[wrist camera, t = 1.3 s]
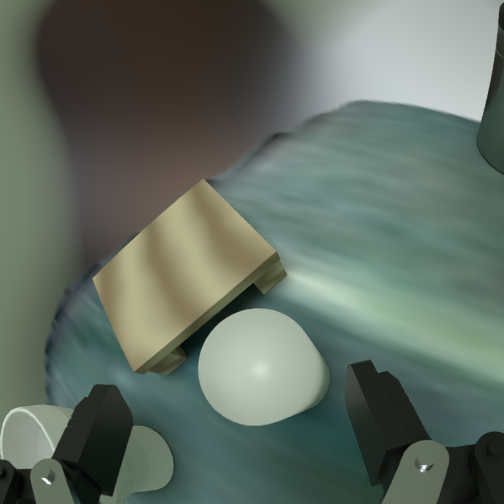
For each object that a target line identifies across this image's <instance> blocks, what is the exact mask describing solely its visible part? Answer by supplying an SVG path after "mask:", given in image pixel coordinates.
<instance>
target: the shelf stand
mask: <svg viewBox="0 0 504 504" xmlns="http://www.w3.org/2000/svg"><path fill="white" fill-rule="evenodd" d="M279 260H280V257H279V255H278V253H277V252H276V250H275V249H274V248H273V247H272V246H271V245H270V244H269V243H268V242H267V241H266V240H265V239H264V238H263V237H262V236H261V235H260V234H259V233H258V232H257V231H256V230H255V229H254V228H253V227H252V226H251V225H250V224H249V223H248V222H247V221H246V220H245V219H244V218H242V217H241V216H240V215H239V214H238V213H237V212H236V211H235V210H234V209H233V208H232V207H231V206H230V205H229V204H228V203H227V202H226V201H225V200H224V199H223V198H222V197H221V196H220V195H219V194H218V193H217V192H216V191H215V190H214V189H213V188H212V187H211V186H210V185H209V184H208V183H207V182H206V181H205V180H204V179H202V180H201V181H200V182H199V183H197V184H196V185H195V186H194V187H192V188H191V189H190V190H189V191H188V192H186V193H185V194H184V195H183V196H182V197H181V198H179V199H178V200H177V201H176V202H175V203H173V204H172V205H171V206H170V207H169V208H168V209H167V210H165V211H164V212H163V213H162V214H161V215H160V216H159V217H157V218H156V219H155V220H154V221H153V222H152V223H151V224H150V225H148V226H147V227H146V228H145V229H144V230H143V231H142V232H141V233H140V234H139V235H137V236H136V237H135V238H134V239H133V240H132V241H131V242H130V243H129V244H128V245H127V246H126V247H125V248H123V249H122V250H121V251H120V252H119V253H118V254H117V255H116V256H115V257H114V258H113V259H112V260H111V261H110V262H109V263H108V264H107V265H106V266H105V267H104V268H103V269H102V270H101V271H100V272H99V273H98V274H97V275H96V276H95V277H94V278H93V281H94V283H95V286H96V289H97V291H98V294H99V296H100V299H101V301H102V304H103V306H104V309H105V311H106V314H107V316H108V318H109V321H110V323H111V325H112V328H113V330H114V332H115V334H116V336H117V339H118V341H119V343H120V345H121V347H122V349H123V351H124V353H125V356H126V358H127V360H128V362H129V364H130V366H131V368H132V370H133V372H136V373H141V374H145V373H146V372H147V371H150V372H155V373H160V374H165V375H168V374H169V373H171V372H172V371H173V370H174V369H176V368H177V367H178V366H179V365H181V364H182V363H183V362H184V361H186V360H187V359H188V358H187V356H186V355H185V353H184V351H183V350H182V348H181V347H180V344H181V343H182V342H183V341H185V340H186V339H187V338H188V337H189V336H191V335H192V334H193V333H194V332H195V331H197V330H198V329H199V328H200V327H201V326H203V325H204V324H205V323H206V322H207V321H209V320H210V319H211V318H212V317H213V316H214V315H216V314H217V313H218V312H219V311H220V310H222V309H223V308H224V307H225V306H226V305H227V304H229V303H230V302H231V301H232V300H233V299H234V298H236V297H237V296H238V295H239V294H240V293H242V292H243V291H244V290H245V289H246V288H247V287H249V286H250V285H251V284H252V283H254V284H255V285H256V287H257V288H258V289H259V290H260V291H261V292H262V293H263V295H265V294H266V293H267V292H268V291H269V290H270V289H271V288H273V287H274V286H275V285H276V284H277V283H278V282H279V281H281V280H282V279H283V278H284V277H285V276H286V275H287V274H286V272H285V270H284V268H283V266H282V264H281V262H280V261H279Z"/></svg>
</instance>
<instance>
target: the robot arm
mask: <svg viewBox="0 0 504 504" xmlns="http://www.w3.org/2000/svg"><path fill="white" fill-rule="evenodd" d="M477 144H478V147H479V150H480V151H481V153H482V155H483V156H484V157H485V159H486V160H487V161H488V162H489V163H490V164H491V165H492V166H494V167H495V168H496V169H497V170H499V171H501V172H502V173H504V3H502V4H501V6H500V10H499V21H498V33H497V43H496V51H495V57H494V64H493V70H492V75H491V81H490V86H489V91H488V95H487V100H486V104H485V108H484V113H483V116H482V120H481V124H480V127H479V131H478V134H477ZM345 403H346V408H347V412H348V415H349V418H350V421H351V424H352V427H353V429H354V432H355V435H356V438H357V441H358V445H359V448H360V451H361V454H362V457H363V460H364V463H365V466H366V469H367V472H368V475H369V479H370V482H371V485H372V486H374V485H377V484H381V483H382V486H383V489H384V494H383V496H382V498H381V500H380V502H379V504H504V433H501V432H496V431H495V432H489V433H486V434H484V435H483V436H482V437H480V439H479V440H478V441H477V443H476V444H473V445H467V446H460V447H444V446H443V445H442V444H440V443H438V442H436V441H433V440H432V439H431V438H430V437H429V436H428V434H427V432H426V430H425V428H424V426H423V424H422V423H421V421H420V419H419V417H418V415H417V413H416V411H415V409H414V408H413V406H412V404H411V402H409V398H408V397H407V395H406V393H404V389H403V388H402V386H401V384H400V382H399V380H398V379H397V378H395V377H394V376H393V375H391V374H390V373H389V372H387V371H385V372H381V373H377V371H376V369H375V367H374V365H373V363H372V361H371V360H366V361H362V362H358V363H353V364H348V366H347V376H346V388H345ZM132 428H133V416H132V413H131V411H130V409H129V407H128V406H127V404H126V402H125V400H124V399H123V397H122V395H121V393H120V391H119V389H118V388H117V387H116V386H115V385H102V384H96V385H94V386H93V388H92V390H91V392H90V394H89V396H88V397H85V398H84V399H83V400H82V401H81V402H80V403H79V404H78V405H77V406H76V407H75V409H74V411H73V413H72V415H71V419H69V422H68V424H67V427H66V428H65V430H64V432H63V434H62V436H61V438H60V440H59V443H58V445H57V447H56V449H55V451H54V453H53V456H52V457H51V459H49V458H48V459H43V460H40V461H39V462H37V463H36V464H35V465H34V466H33V468H32V469H16V468H15V467H14V466H13V465H12V464H11V463H10V462H9V461H7V460H4V459H1V460H0V504H102V503H101V502H100V501H99V500H100V496H101V495H105V496H110V497H113V493H114V490H115V486H116V482H117V479H118V475H119V472H120V468H121V465H122V461H123V458H124V454H125V451H126V448H127V444H128V441H129V438H130V434H131V431H132Z"/></svg>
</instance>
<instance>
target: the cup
mask: <svg viewBox="0 0 504 504" xmlns="http://www.w3.org/2000/svg"><path fill="white" fill-rule="evenodd" d="M73 411H74V410H72V409H70V408H64V407H57V406H50V405H34V406H25V407H18V408H16V409H13V410H11V411H10V413H9V414H8V415H7V416H6V418H5V420H4V422H3V425H2V431H1V439H0V441H1V442H0V449H1V457H2V459H4V460H7V461H9V462H10V463H11V464H12V465H13V466H14V467H15V468H16V469H32V468H33V466H34V465H35V464H36V463H37V462H39V461H40V460H43V459H48V458H49V459H51V457H52V456H53V453H54V451H55V449H56V447H57V445H58V443H59V440H60V438H61V436H62V434H63V432H64V430H65V428H66V427H67V424H68V422H69V419H71V415H72V413H73ZM173 469H174V463H173V456H172V454H171V451H170V448H169V446H168V445H167V443H166V442H165V440H164V439H163V438H162V437H161V436H160V435H159V434H158V433H157V432H155V431H154V430H152V429H151V428H148V427H145V426H138V425H135V426H133V428H132V431H131V434H130V438H129V441H128V444H127V448H126V451H125V454H124V458H123V461H122V465H121V468H120V472H119V475H118V479H117V482H116V486H115V490H114V493H113V497H110V496H105V495H101V496H100V500H99V501H100V502H101V503H102V504H124V503H125V501H126V499H127V498H128V496H129V495H130V494H132V493H134V492H144V491H152V490H158V489H161V488H162V487H164V486H166V485H167V483H168V482H169V481H170V479H171V477H172V475H173Z"/></svg>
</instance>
